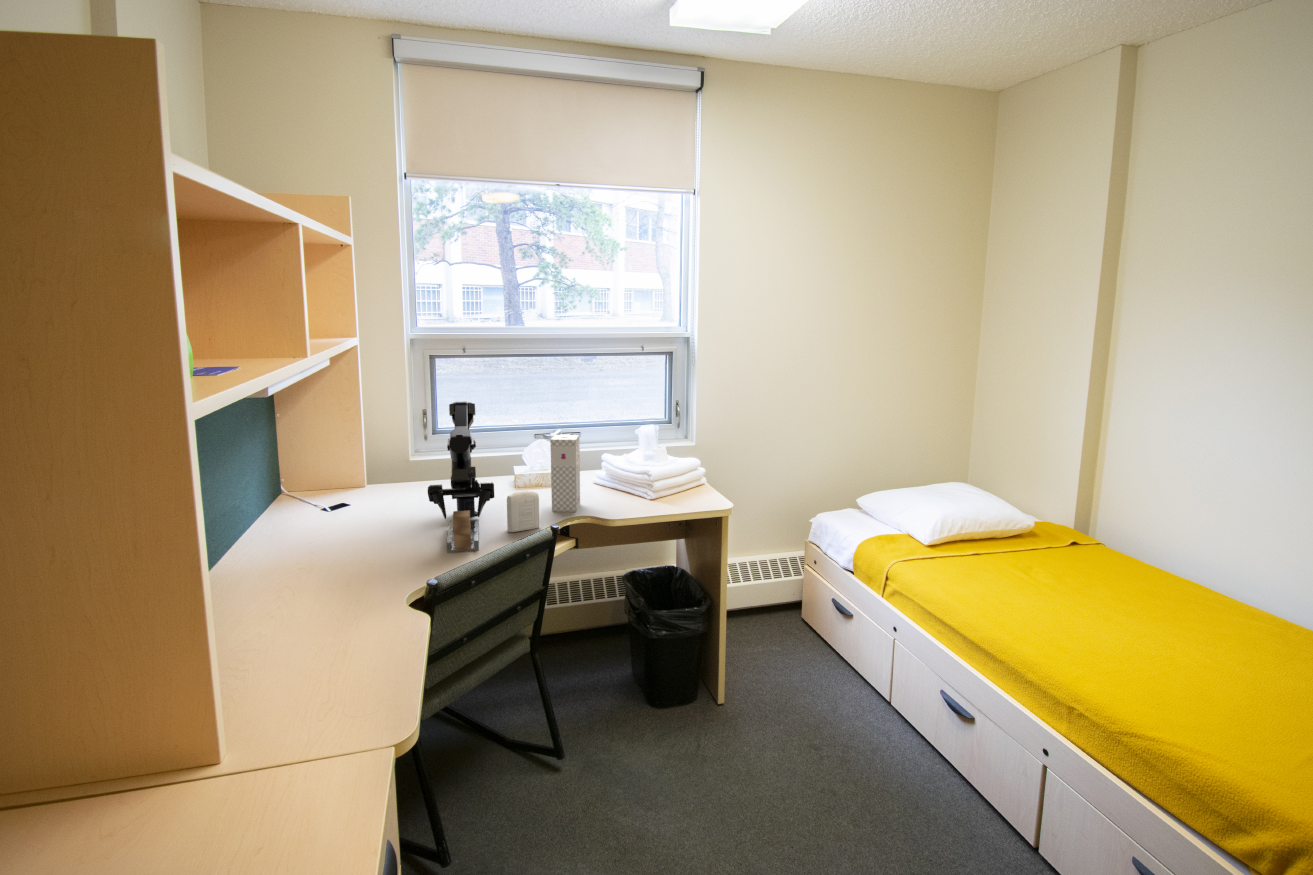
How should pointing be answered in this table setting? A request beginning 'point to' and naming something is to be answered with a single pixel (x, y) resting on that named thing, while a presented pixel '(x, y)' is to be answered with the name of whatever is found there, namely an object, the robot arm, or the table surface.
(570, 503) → the box
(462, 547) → the wooden tall block
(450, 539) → the gray rectangular tray
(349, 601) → the table surface
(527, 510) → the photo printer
